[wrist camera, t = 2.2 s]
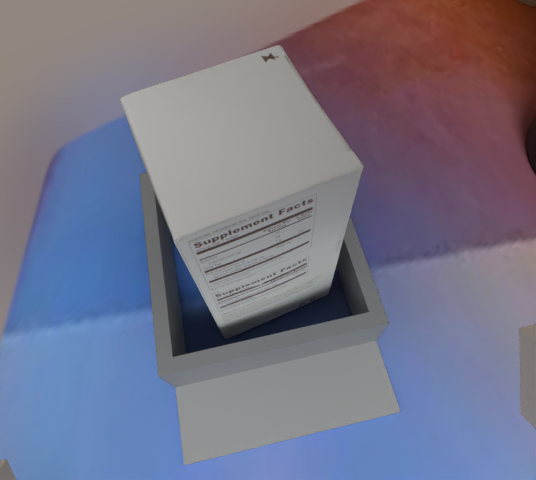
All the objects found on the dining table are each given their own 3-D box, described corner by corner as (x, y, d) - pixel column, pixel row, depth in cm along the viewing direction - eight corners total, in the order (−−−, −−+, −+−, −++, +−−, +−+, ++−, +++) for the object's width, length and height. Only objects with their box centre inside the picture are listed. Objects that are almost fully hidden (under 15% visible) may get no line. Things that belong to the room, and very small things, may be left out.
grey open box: (303, 134, 41) (305, 95, 37) (398, 412, 29) (418, 403, 25) (152, 164, 40) (135, 128, 36) (185, 464, 28) (166, 465, 24)
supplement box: (184, 243, 36) (112, 90, 21) (282, 204, 38) (278, 35, 23) (225, 344, 32) (170, 243, 17) (332, 296, 33) (369, 163, 18)
